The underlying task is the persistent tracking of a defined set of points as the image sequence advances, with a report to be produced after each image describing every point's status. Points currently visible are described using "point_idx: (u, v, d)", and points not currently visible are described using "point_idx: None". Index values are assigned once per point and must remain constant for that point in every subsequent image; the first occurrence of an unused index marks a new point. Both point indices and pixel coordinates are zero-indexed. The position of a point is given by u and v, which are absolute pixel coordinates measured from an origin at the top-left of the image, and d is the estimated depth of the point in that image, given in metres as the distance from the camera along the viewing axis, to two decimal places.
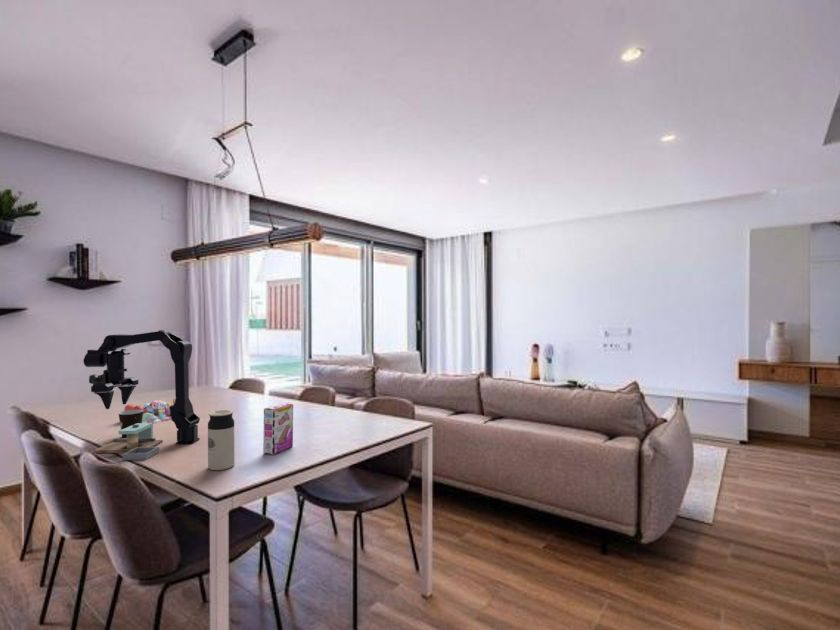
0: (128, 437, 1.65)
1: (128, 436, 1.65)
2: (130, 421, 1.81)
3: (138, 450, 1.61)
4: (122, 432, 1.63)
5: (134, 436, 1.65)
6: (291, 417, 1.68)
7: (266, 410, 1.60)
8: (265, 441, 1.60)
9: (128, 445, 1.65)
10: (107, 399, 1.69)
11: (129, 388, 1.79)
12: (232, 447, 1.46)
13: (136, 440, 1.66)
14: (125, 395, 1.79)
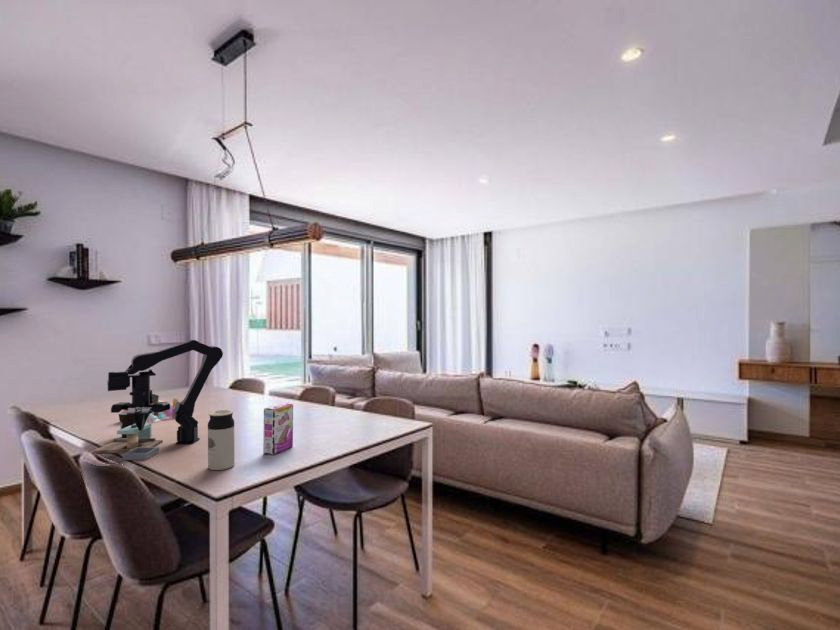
0: (128, 437, 1.65)
1: (128, 436, 1.65)
2: (130, 421, 1.81)
3: (138, 450, 1.61)
4: (120, 432, 1.63)
5: (134, 436, 1.65)
6: (291, 417, 1.68)
7: (266, 410, 1.60)
8: (265, 441, 1.60)
9: (128, 445, 1.65)
10: None
11: None
12: (232, 447, 1.46)
13: (136, 440, 1.66)
14: None
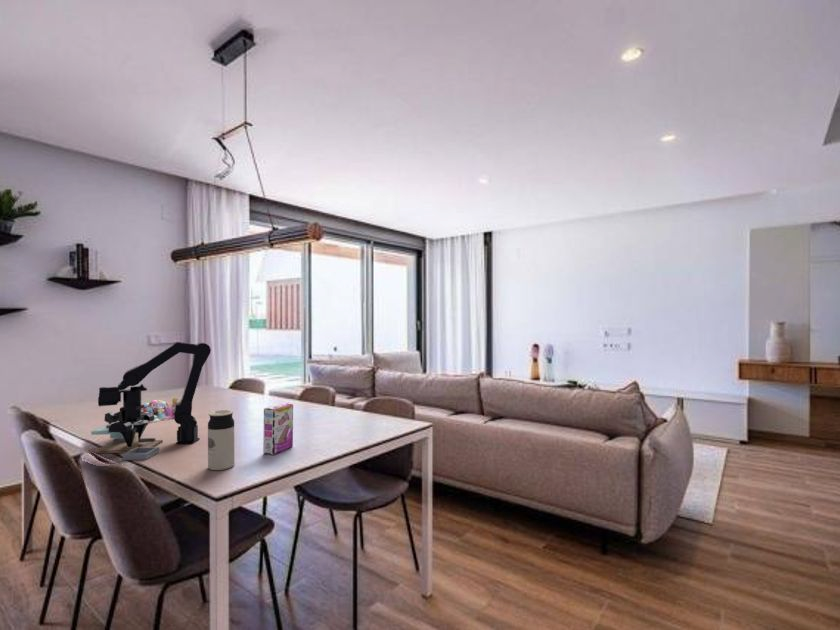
0: None
1: None
2: None
3: (138, 450, 1.61)
4: (95, 432, 1.63)
5: (134, 436, 1.65)
6: (291, 417, 1.68)
7: (266, 410, 1.60)
8: (265, 441, 1.60)
9: None
10: (129, 437, 1.63)
11: (141, 426, 1.69)
12: (232, 447, 1.46)
13: (136, 440, 1.66)
14: None
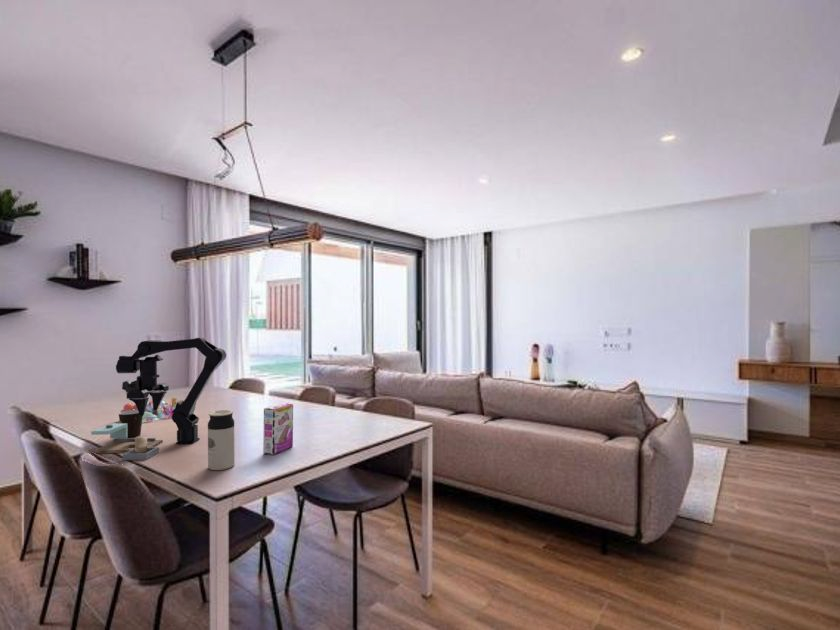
0: (136, 441, 1.57)
1: (136, 440, 1.57)
2: (130, 421, 1.81)
3: None
4: (95, 432, 1.63)
5: (143, 440, 1.57)
6: (291, 417, 1.68)
7: (266, 410, 1.60)
8: (265, 441, 1.60)
9: (136, 450, 1.57)
10: (142, 405, 1.68)
11: (160, 394, 1.78)
12: (232, 447, 1.46)
13: (145, 445, 1.58)
14: (156, 402, 1.78)
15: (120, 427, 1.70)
